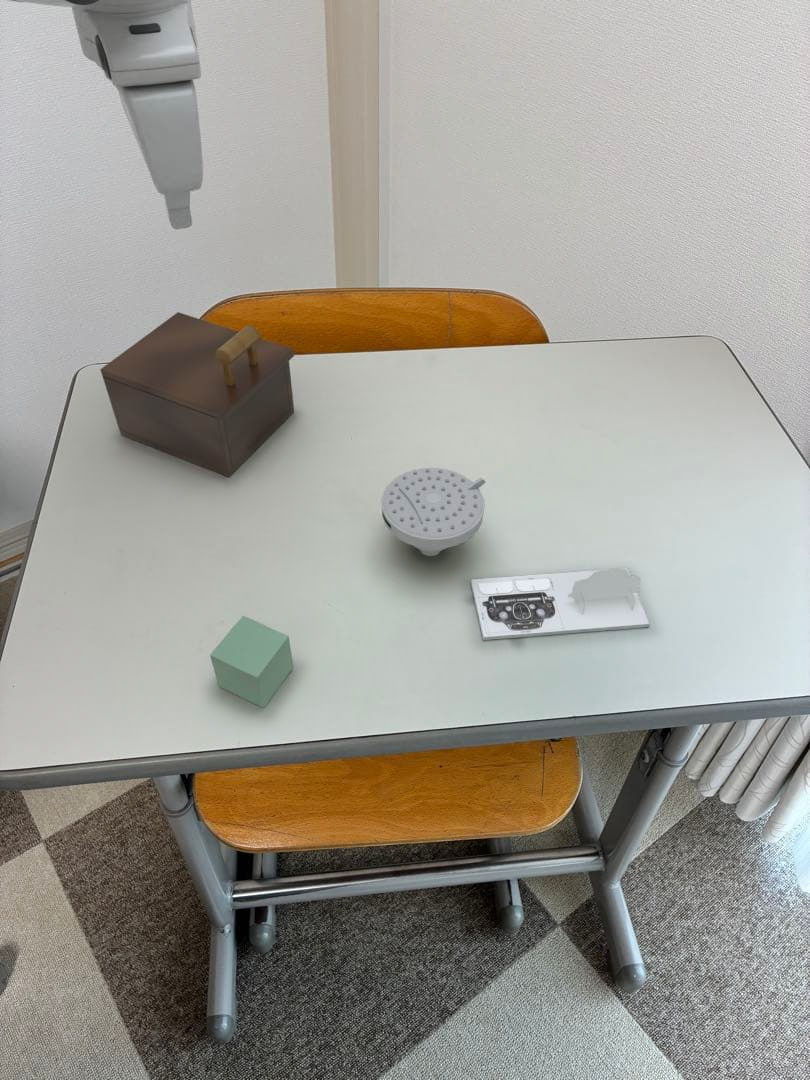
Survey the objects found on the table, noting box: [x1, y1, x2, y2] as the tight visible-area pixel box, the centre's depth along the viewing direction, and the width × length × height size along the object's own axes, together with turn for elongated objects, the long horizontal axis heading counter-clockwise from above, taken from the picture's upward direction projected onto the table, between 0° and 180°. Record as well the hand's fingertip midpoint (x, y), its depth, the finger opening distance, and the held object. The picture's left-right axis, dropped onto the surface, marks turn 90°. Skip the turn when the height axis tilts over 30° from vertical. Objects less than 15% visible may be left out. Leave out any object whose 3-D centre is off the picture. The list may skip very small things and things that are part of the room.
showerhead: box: [381, 467, 486, 557], centre depth 75 cm, size 9×7×10 cm
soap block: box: [209, 615, 294, 709], centre depth 65 cm, size 4×4×4 cm
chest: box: [102, 360, 295, 478], centre depth 87 cm, size 15×13×8 cm
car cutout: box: [470, 567, 651, 641], centre depth 71 cm, size 15×7×4 cm, turn 96°
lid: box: [99, 311, 295, 420], centre depth 82 cm, size 15×13×5 cm
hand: (171, 202), depth 72 cm, fingers open, 8 cm apart
